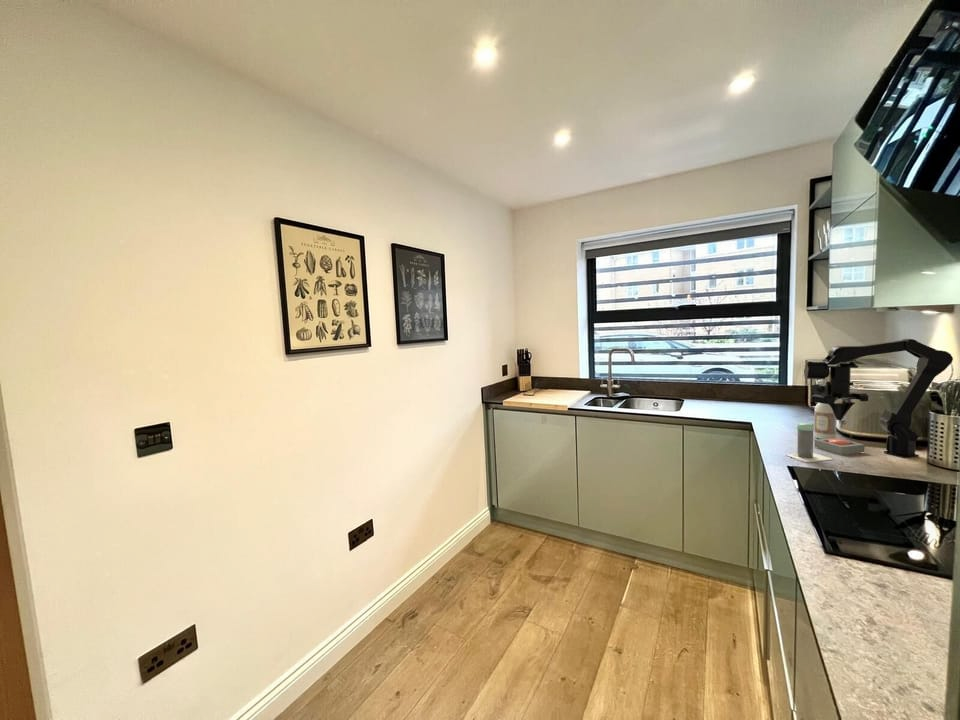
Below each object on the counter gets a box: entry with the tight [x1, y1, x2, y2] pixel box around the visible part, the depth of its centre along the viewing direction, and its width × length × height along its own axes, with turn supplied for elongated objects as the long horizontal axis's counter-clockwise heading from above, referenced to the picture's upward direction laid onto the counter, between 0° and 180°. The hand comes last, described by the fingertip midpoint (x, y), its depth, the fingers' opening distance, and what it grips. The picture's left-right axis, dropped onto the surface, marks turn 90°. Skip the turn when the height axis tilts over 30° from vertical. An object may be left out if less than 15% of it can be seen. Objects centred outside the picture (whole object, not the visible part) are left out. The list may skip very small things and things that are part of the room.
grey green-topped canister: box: [796, 422, 814, 458], centre depth 144 cm, size 5×5×12 cm
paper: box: [786, 452, 834, 463], centre depth 144 cm, size 8×11×1 cm
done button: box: [828, 438, 850, 446], centre depth 151 cm, size 6×6×4 cm
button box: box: [814, 437, 865, 456], centre depth 151 cm, size 10×10×3 cm
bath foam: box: [813, 402, 837, 440], centre depth 165 cm, size 7×7×20 cm
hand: (838, 420), depth 150 cm, fingers closed
